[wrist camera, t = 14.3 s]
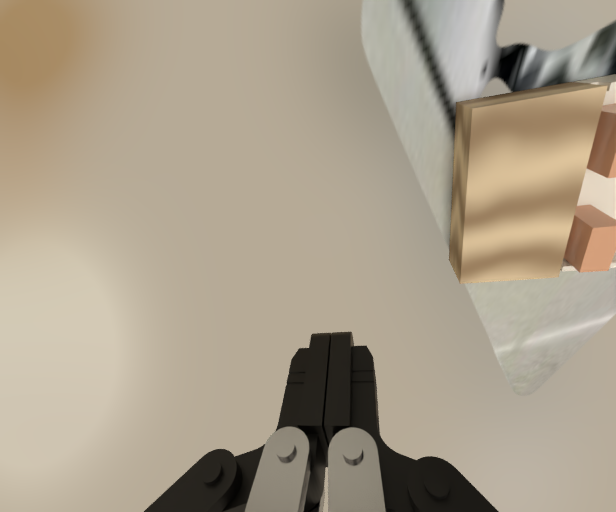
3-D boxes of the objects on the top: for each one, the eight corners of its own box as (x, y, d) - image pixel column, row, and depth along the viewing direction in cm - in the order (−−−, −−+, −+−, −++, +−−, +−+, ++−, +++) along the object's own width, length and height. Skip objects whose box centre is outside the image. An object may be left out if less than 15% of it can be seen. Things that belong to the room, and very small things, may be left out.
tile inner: (626, 115, 25) (665, 109, 24) (586, 108, 29) (619, 102, 28) (608, 178, 27) (642, 174, 26) (574, 162, 31) (603, 158, 31)
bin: (573, 81, 28) (602, 84, 25) (688, 61, 27) (736, 61, 23) (537, 252, 37) (555, 271, 34) (622, 245, 35) (650, 265, 32)
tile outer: (593, 227, 29) (624, 225, 29) (563, 207, 34) (590, 204, 33) (579, 272, 32) (608, 270, 31) (553, 247, 36) (578, 245, 36)
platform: (456, 102, 30) (472, 108, 26) (570, 82, 28) (607, 85, 24) (449, 259, 39) (460, 283, 35) (535, 252, 37) (558, 277, 33)
